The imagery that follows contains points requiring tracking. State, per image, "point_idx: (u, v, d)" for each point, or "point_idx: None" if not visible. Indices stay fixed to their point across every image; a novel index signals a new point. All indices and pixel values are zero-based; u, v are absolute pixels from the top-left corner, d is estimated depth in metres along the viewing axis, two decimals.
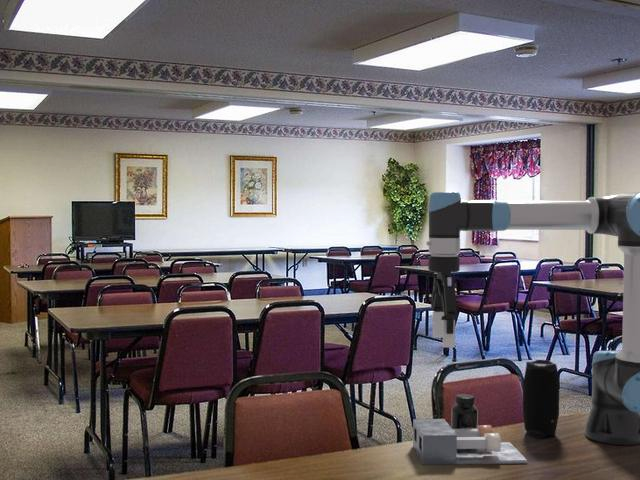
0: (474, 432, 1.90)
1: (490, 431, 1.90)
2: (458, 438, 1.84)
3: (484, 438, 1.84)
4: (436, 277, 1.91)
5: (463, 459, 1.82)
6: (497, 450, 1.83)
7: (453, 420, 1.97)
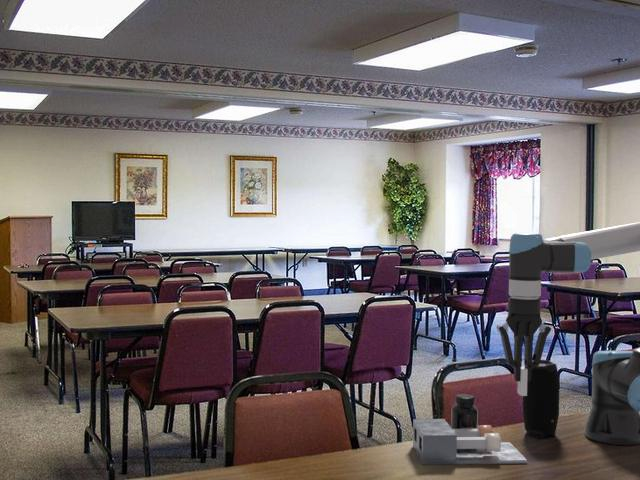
0: (474, 432, 1.90)
1: (490, 431, 1.90)
2: (458, 438, 1.84)
3: (484, 438, 1.84)
4: None
5: (463, 459, 1.82)
6: (497, 450, 1.83)
7: (453, 420, 1.97)
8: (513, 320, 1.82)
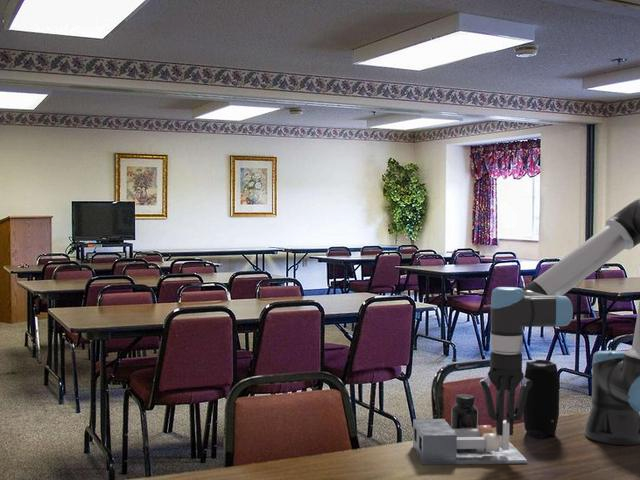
0: (474, 432, 1.90)
1: (490, 431, 1.90)
2: (457, 438, 1.84)
3: (483, 438, 1.84)
4: None
5: (463, 459, 1.82)
6: (496, 450, 1.83)
7: (453, 420, 1.97)
8: (495, 375, 1.83)
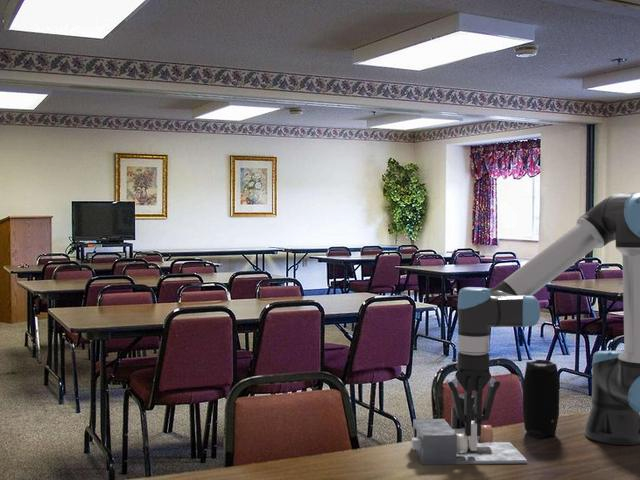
0: None
1: (490, 431, 1.90)
2: None
3: None
4: None
5: (463, 459, 1.82)
6: (464, 450, 1.83)
7: (453, 420, 1.97)
8: (462, 375, 1.82)
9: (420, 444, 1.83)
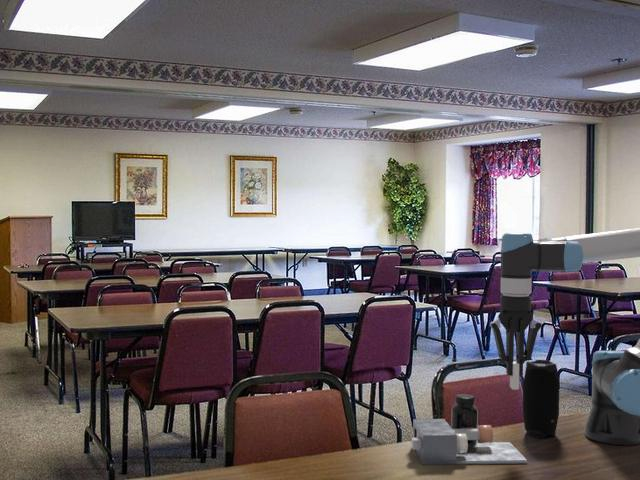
0: (474, 432, 1.90)
1: (490, 431, 1.90)
2: None
3: None
4: None
5: (463, 459, 1.82)
6: (464, 450, 1.83)
7: (453, 420, 1.97)
8: (505, 317, 1.89)
9: (420, 444, 1.83)
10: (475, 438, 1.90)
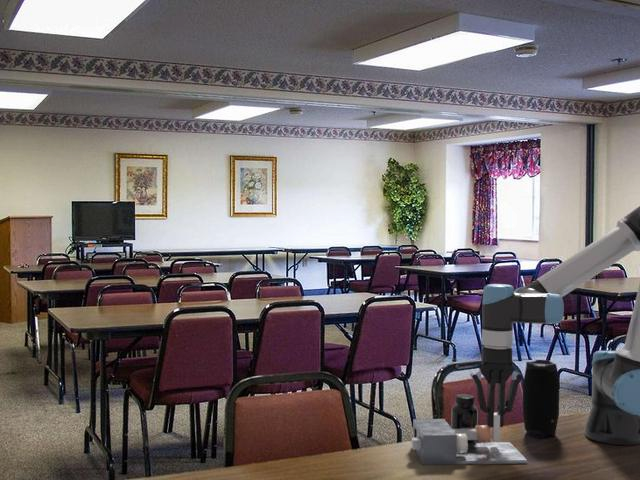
0: (472, 432, 1.90)
1: (488, 431, 1.90)
2: None
3: None
4: None
5: (463, 459, 1.82)
6: (464, 450, 1.83)
7: (453, 420, 1.97)
8: (486, 368, 1.90)
9: (420, 444, 1.83)
10: (473, 438, 1.90)
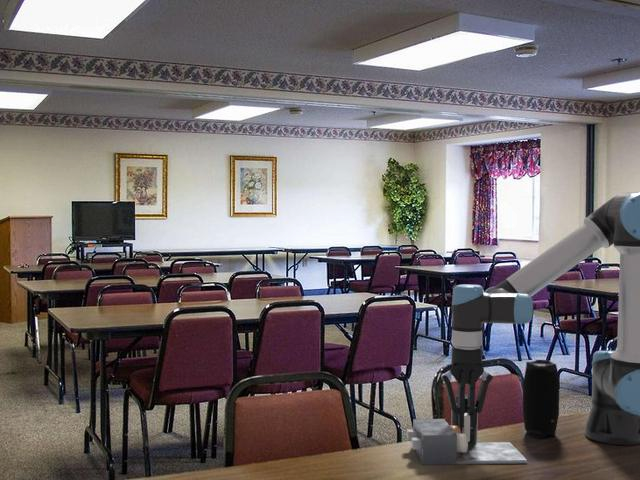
0: None
1: (458, 431, 1.89)
2: None
3: None
4: None
5: (463, 459, 1.82)
6: (464, 450, 1.83)
7: (453, 420, 1.97)
8: (456, 369, 1.89)
9: (420, 444, 1.83)
10: None
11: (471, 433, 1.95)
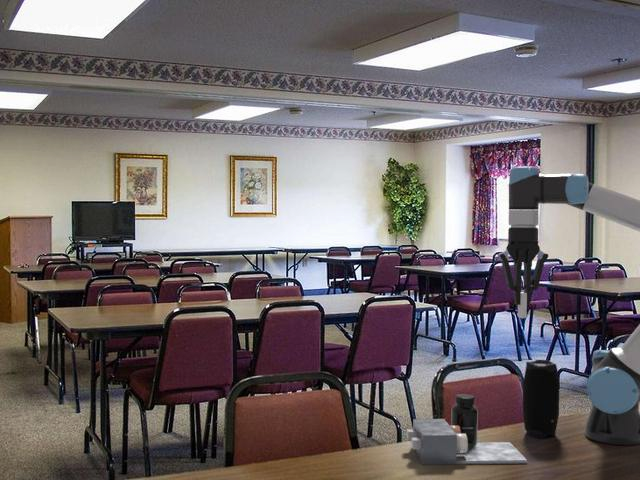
0: None
1: (458, 431, 1.89)
2: None
3: None
4: None
5: (463, 459, 1.82)
6: (464, 450, 1.83)
7: (453, 420, 1.97)
8: (513, 247, 1.97)
9: (420, 444, 1.83)
10: None
11: (471, 433, 1.95)
